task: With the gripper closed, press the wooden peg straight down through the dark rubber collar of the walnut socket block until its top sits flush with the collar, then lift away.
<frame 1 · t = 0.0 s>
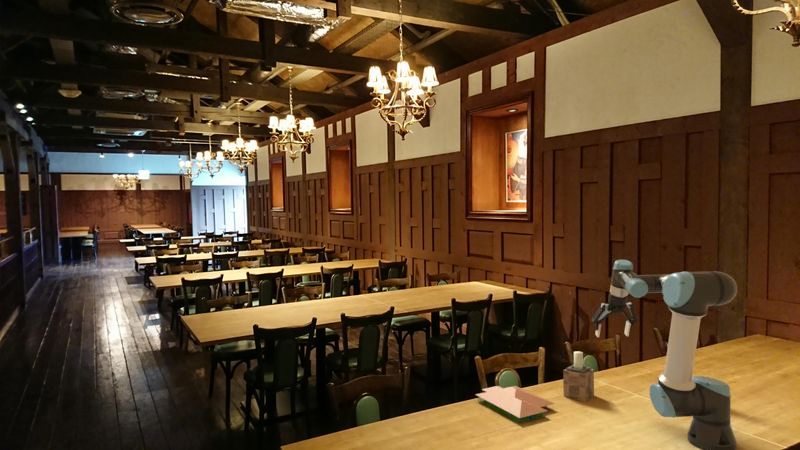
hand: (611, 335, 231), 28 cm above the table, tool tilted 20°, fingers open, 13 cm apart
house: (515, 407, 223), on the table
socket block: (578, 395, 233), on the table
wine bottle: (682, 398, 228), on the table
peg: (578, 365, 233), point 14 cm above the table, slide at 0.0 cm
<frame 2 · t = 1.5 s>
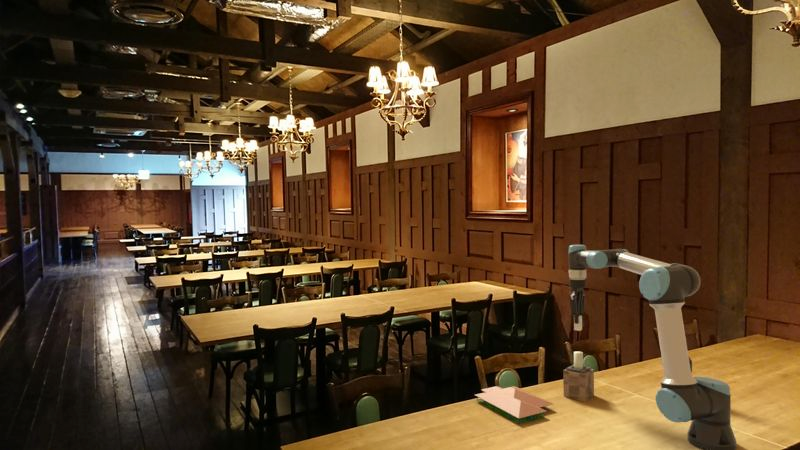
hand: (578, 329, 232), 30 cm above the table, tool pointing down, fingers closed
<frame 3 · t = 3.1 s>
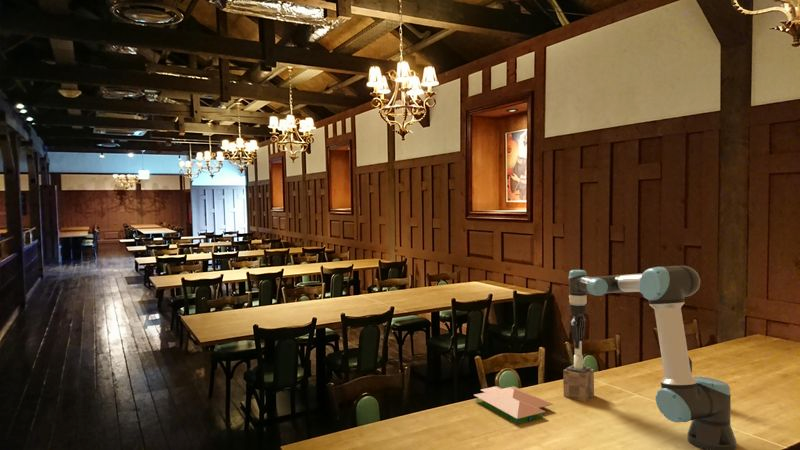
hand: (578, 355, 233), 19 cm above the table, tool pointing down, fingers closed
peg: (578, 368, 233), point 13 cm above the table, slide at 1.5 cm, touching gripper
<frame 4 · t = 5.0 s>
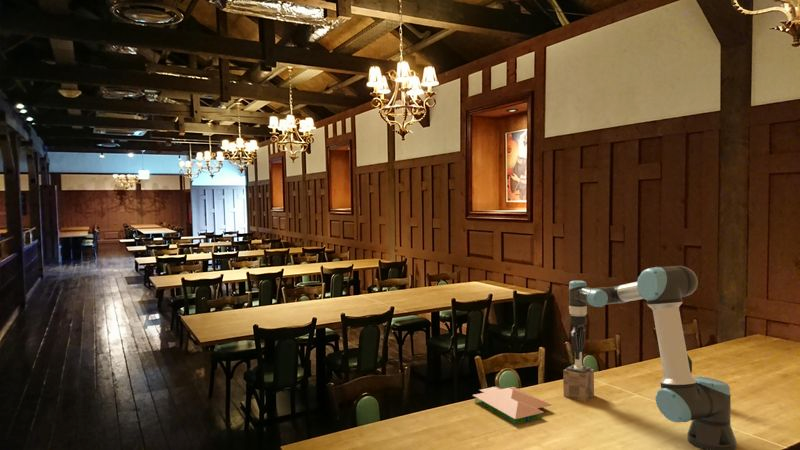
hand: (578, 365, 233), 14 cm above the table, tool pointing down, fingers closed
peg: (578, 379, 233), point 8 cm above the table, slide at 6.4 cm, touching gripper
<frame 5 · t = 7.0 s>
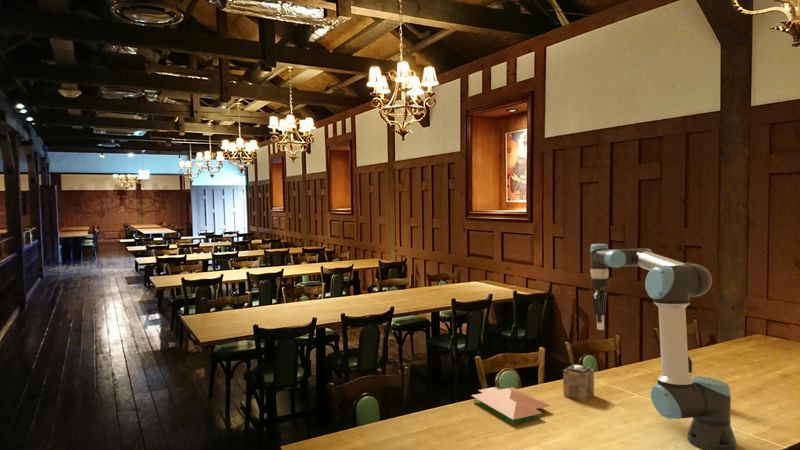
hand: (600, 329, 232), 31 cm above the table, tool pointing down, fingers closed
peg: (578, 379, 233), point 8 cm above the table, slide at 6.4 cm
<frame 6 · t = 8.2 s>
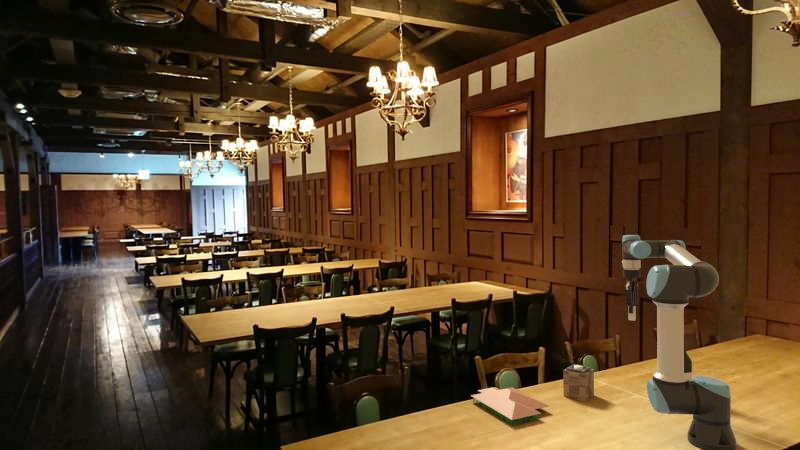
hand: (631, 320, 232), 34 cm above the table, tool pointing down, fingers closed
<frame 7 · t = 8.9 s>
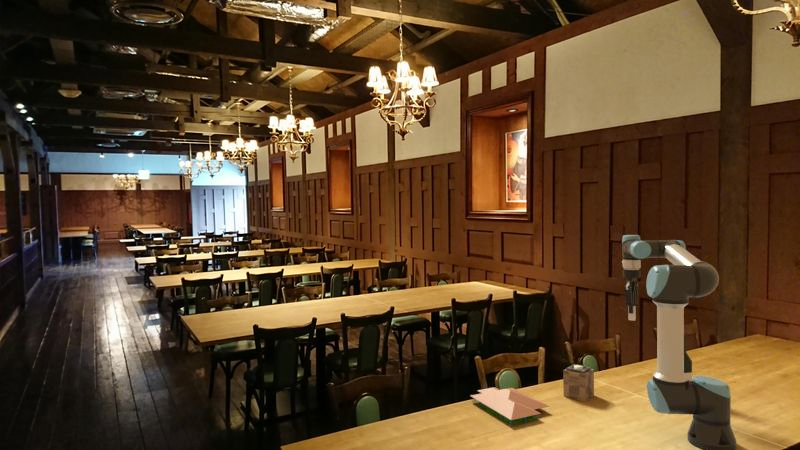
hand: (631, 320, 232), 34 cm above the table, tool pointing down, fingers closed
at the end: peg slide at 6.4 cm; the gripper is holding nothing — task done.
